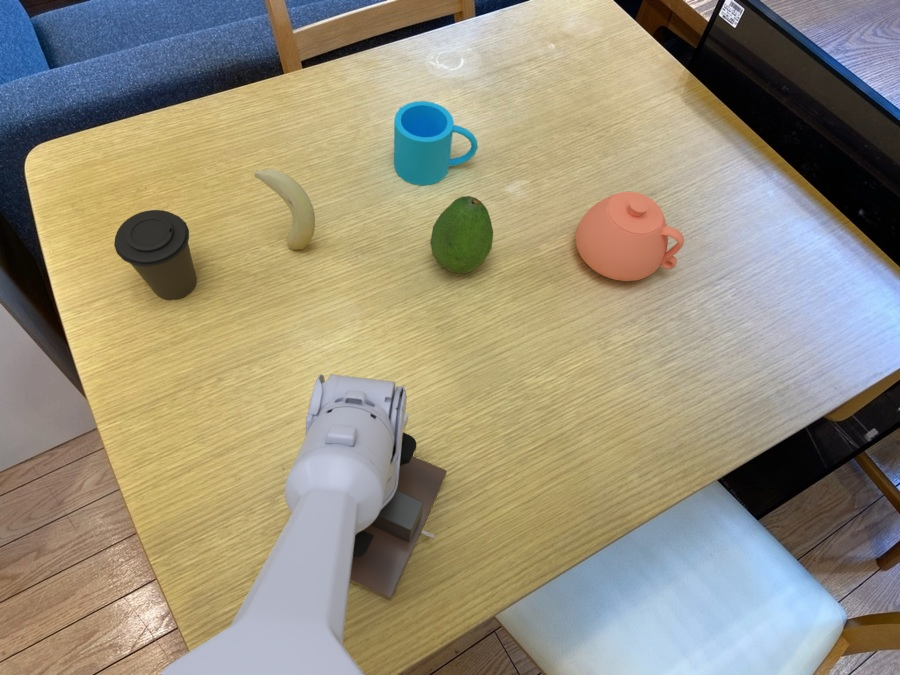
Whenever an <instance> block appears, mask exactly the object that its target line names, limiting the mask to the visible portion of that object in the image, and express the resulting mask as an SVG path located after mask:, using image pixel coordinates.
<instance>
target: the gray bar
mask: <svg viewBox="0 0 900 675" xmlns="http://www.w3.org/2000/svg"><path fill="white" fill-rule="evenodd" d="M423 505H424V502H422V501H420V500H418V499H416V498H413V497H411V496H409V495H407V494H404V493H402V492H400V491H398V490H396V492H395V494H394V496H393V497H392V499H391V500H390V501H389V502H388V503H387V504H386V505H385V506H384V507H383V508H382V509H381V510H380V513H379V515H378V516H377V518H376V519H375V520H374V522H373V523H371V524H370V525H372V526H374V527H376V528H379V529H381V530H383V531H385V532H387V533H390V534H392V535H394V536H396V537H398V538H400V539H403V540H405V541H407V542H410V541H411V539H412V537H413V534H414V532H415V530H416V528H417V525H418V523H419V521H420V519H421V516H422V511H423Z"/></svg>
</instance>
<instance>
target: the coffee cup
mask: <svg viewBox="0 0 900 675" xmlns="http://www.w3.org/2000/svg"><path fill="white" fill-rule="evenodd" d="M189 240H190V229H189V227H188V225H187V222H186V221H185V220H184V219H182V218H181V216H179V215H177V214H174V213H173V212H171V211H167V210H162V209H150V210H145V211H140V212H138V213H135V214H133V215H132V216H129V218H127V219H126V220H125V221H124V222H123V223H121V225H120V226H119V228H118V229H117V231H116V234H115V236H114V242H113V243H114V244H113V245H114V250H115V253H116V255H118V256H119V258H120V259H121V260H123V261H124V262H126V263H128V264H130V266H132V267H133V268H134V270H135V271H136V272H137V273H138V275H139V276H140V277H141V278H142V279H143V281H144V282H145V283H146V284H147V285H148V287H149V288H150V289H151V290H152V291H153V293H154V294H155V295H156V296H157V297H159V298H160V299H163V300H166V301H177V300H181V299H182V298H186V297H187V296H188V295H190V294H191V293H193V291H194V290H195V288H196V286H197V283H198V280H197V279H198V278H197V277H198V276H197V273H196V269H195V264H194V261H193V257H192V253H191V252H192V251H191V249H190V245H189Z"/></svg>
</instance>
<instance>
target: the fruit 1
mask: <svg viewBox="0 0 900 675" xmlns="http://www.w3.org/2000/svg"><path fill="white" fill-rule="evenodd" d="M254 177H255V178H256V179H258V180H260V181H261V182H262V183H264V184H265V185H266V186H267V187H268V188H270V189H271V190H272V191H273V192H275V193H276V194H277V195H278V196H279V197H280V199H282V200H283V202H284V203H285V205H286V206H287V207H288V209H289V211H290V214H291V222H292V223H291V226H290V230H289V233H288V236H287V242H286V244H287V245H286V246H287V247H288V249H290V250H303V249H305V248H306V247H307V246H308V245H309V243H310V242H312V239H313V238H314V235H315V230H316V214H315V209H314V206H313V204H312V201H311V198H310V197H309V194H307V192H306V191H305V189H304V188H303V187H302V186H301V184H300V183H299V182H298V181H297V180H295V178H293V177H292V176H290V175H288V174H287V173H286V172H283V171H280V170H276V169H265V170H255V171H254Z"/></svg>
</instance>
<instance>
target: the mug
mask: <svg viewBox="0 0 900 675" xmlns="http://www.w3.org/2000/svg"><path fill="white" fill-rule="evenodd" d="M393 120H394V123H393V126H394V127H393V166H394V170H395V173H396V174H397V175H398V177H399V178H401V179H402V180H403V181H405V182H407V183H409V184H412V185H415V186H431V185H434V184H438V183H440V181H442V180H443V179H445V178H446V176H447V175H448V173H449V168H450V167H453V166H457V165H458V166H459V165H462V164H465V163H466V162H468V161H470V160H471V159H472V158H473V157H475V155H476V153H477V152H478V148H479V145H478V140H477V138H476V137H475V135H474V133H472V132H471V131H470V130H468V129H467V128H465V127H463V126H460V125H457V124H455V122H454V118H453V115H452V114H451V112H450V111H449V110H448V109H447V108H445V107H443V105H441V104H438V103H435V102H432V101H425V100H421V101H419V100H418V101H413V102H409V103H406V104H405V105H402V106H401V107H400V108H399V109H398V110H397V111H396V113H395V116H394V119H393ZM453 133H455V134H459V135H461V136H463V137H465V138H466V139H467V140H468V141H469V142H470V148H469V150H468V151H467V152H466V153H464V154H463V155H461V156H457V157H453V158H451V151H452V143H453V135H454V134H453Z"/></svg>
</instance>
